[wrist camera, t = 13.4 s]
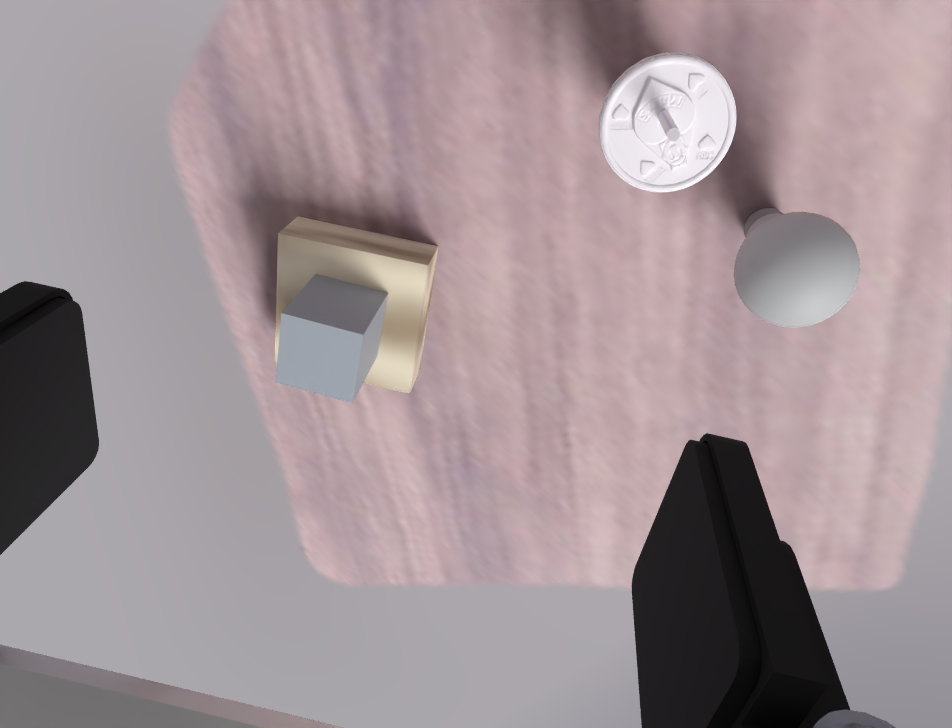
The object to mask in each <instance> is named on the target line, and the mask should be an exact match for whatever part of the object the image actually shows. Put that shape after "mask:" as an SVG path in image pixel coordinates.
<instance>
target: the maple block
mask: <svg viewBox="0 0 952 728" xmlns="http://www.w3.org/2000/svg"><path fill="white" fill-rule="evenodd" d="M437 253H438V246H435V245H430V244H426V243H421V242H416V241H411V240H407V239H402V238H397V237H393V236H388V235H383V234H379V233H374V232H369V231H365V230H360V229H355V228H351V227H346V226H341V225H337V224H332V223H327V222H322V221H318V220H313V219H308V218H304V217H299V216H298V217H296V218H295V219H294V220H293V221H292V222H291V223H289V224H288V225H287V226H286V227H285V228H284V229H282V230H281V231H280V232H279V233H278V253H277V294H276V335H275V364H277V359H278V347H279V335H280V323H281V313H282V312H283V311H284V309H285V308H286V307H287V306H288V305H289V304H290V303H291V301H292V300H293V299H294V298H295V297H296V296H297V295H298V293H299V292H300V291H301V290H302V289H303V288H304V286H305V285H306V284H307V283H308V282H309V281H310V280H311V278H312V277H313V276H314V275H315V274H318V275H322V276H326V277H329V278H333V279H337V280H341V281H344V282H348V283H352V284H356V285H360V286H363V287H367V288H371V289H375V290H378V291H382V292H386V293H388V298H387V304H386V310H385V315H384V321H383V327H382V333H381V338H380V344H379V350H378V356H377V358H376V360H375V362H374V364H373V365H372V367H371V369H370V371H369V373H368V375H367V377H366V379H365V380H364V382H363V383H365V384H369V385H374V386H378V387H383V388H387V389H392V390H396V391H401V392H405V393H410V392H411V389H412V387H413V384H414V382H415V380H416V377H417V375H418V372H419V370H420V366H421V359H422V352H423V346H424V339H425V332H426V326H427V319H428V312H429V306H430V299H431V292H432V286H433V279H434V273H435V266H436V259H437Z"/></svg>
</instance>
